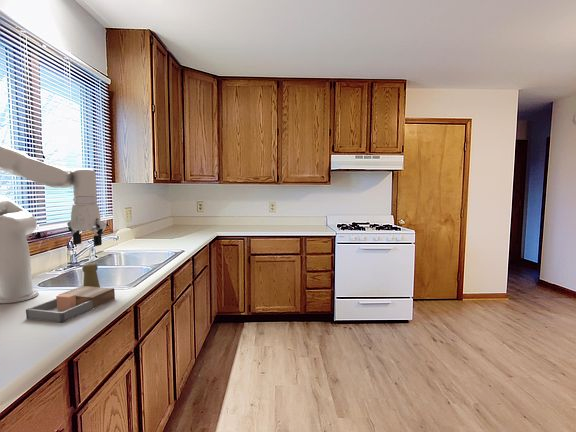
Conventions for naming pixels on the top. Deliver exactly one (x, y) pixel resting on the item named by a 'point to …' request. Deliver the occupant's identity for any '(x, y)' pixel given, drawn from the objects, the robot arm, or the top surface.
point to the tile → (65, 302)
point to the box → (50, 312)
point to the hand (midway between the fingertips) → (87, 244)
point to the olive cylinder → (90, 275)
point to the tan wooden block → (92, 295)
